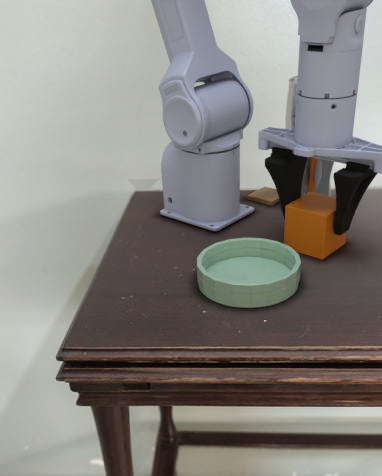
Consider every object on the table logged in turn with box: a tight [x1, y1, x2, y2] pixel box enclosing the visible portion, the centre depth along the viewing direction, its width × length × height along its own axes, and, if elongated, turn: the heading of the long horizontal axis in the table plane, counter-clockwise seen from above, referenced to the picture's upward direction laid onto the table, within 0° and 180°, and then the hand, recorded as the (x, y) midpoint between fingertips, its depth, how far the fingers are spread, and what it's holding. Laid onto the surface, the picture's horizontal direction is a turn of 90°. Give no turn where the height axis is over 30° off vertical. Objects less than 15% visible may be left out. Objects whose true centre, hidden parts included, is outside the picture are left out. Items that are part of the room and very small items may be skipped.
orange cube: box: [283, 192, 348, 260], centre depth 63 cm, size 5×5×5 cm
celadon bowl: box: [196, 237, 302, 309], centre depth 58 cm, size 10×10×2 cm
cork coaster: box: [246, 186, 280, 207], centre depth 76 cm, size 4×4×1 cm
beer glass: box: [284, 75, 336, 197], centre depth 70 cm, size 7×7×15 cm
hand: (315, 224), depth 63 cm, fingers open, 6 cm apart
